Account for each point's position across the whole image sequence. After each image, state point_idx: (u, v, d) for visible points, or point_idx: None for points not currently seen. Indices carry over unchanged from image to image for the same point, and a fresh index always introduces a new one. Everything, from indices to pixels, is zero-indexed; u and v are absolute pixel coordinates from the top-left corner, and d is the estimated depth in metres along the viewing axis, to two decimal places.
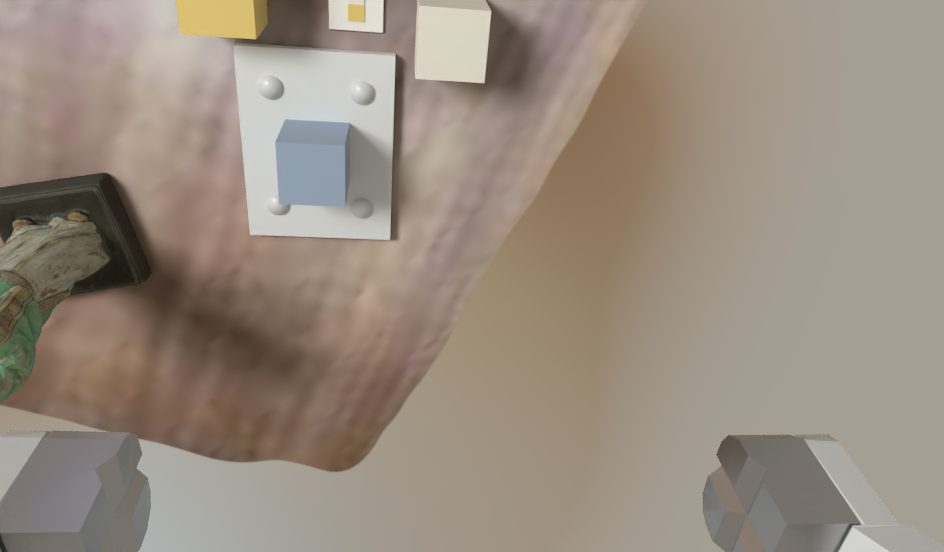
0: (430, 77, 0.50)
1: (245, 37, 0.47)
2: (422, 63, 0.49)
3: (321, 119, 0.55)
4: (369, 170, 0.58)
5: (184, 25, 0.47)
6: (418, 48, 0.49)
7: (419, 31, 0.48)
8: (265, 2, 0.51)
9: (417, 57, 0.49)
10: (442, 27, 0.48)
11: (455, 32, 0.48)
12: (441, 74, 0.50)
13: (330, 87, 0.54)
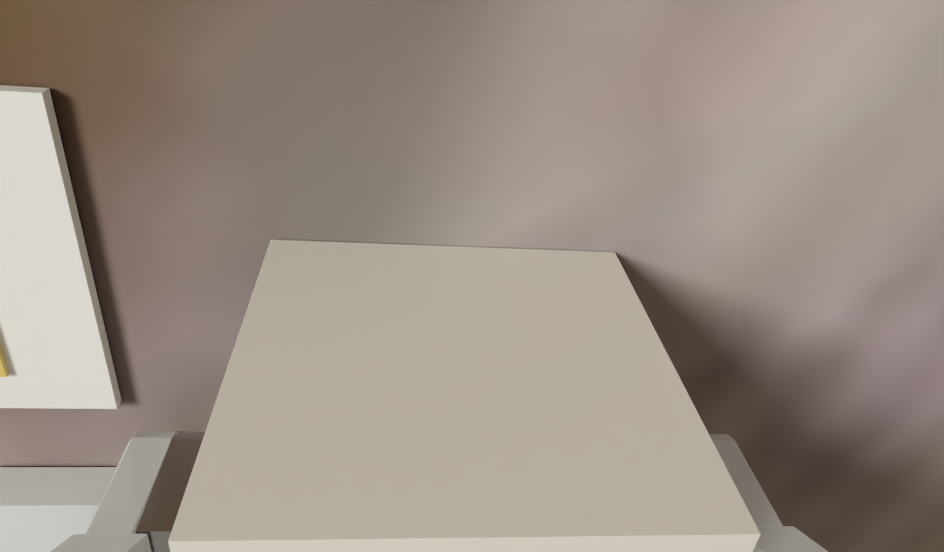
0: None
1: None
2: None
3: None
4: None
5: None
6: None
7: None
8: None
9: None
10: None
11: None
12: None
13: None
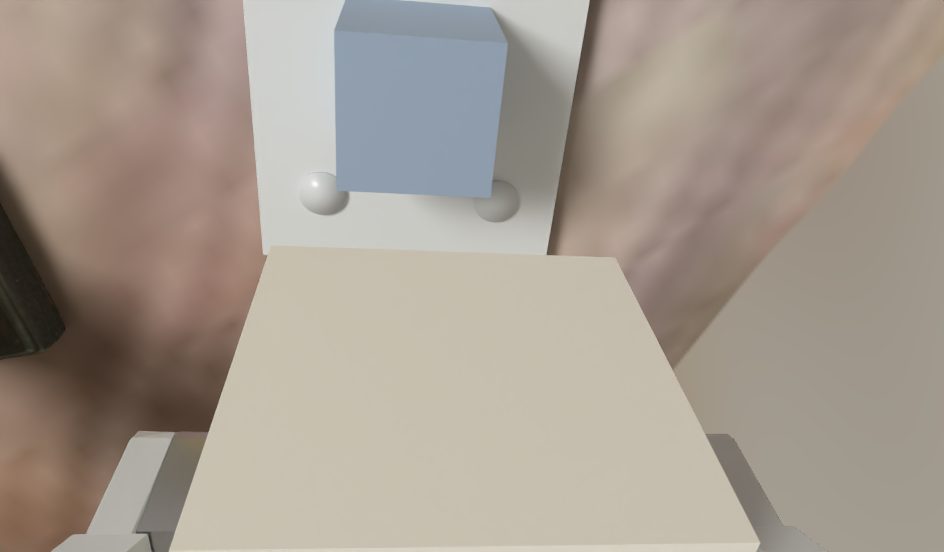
0: None
1: None
2: None
3: None
4: (522, 120, 0.27)
5: None
6: None
7: None
8: None
9: None
10: None
11: None
12: None
13: None
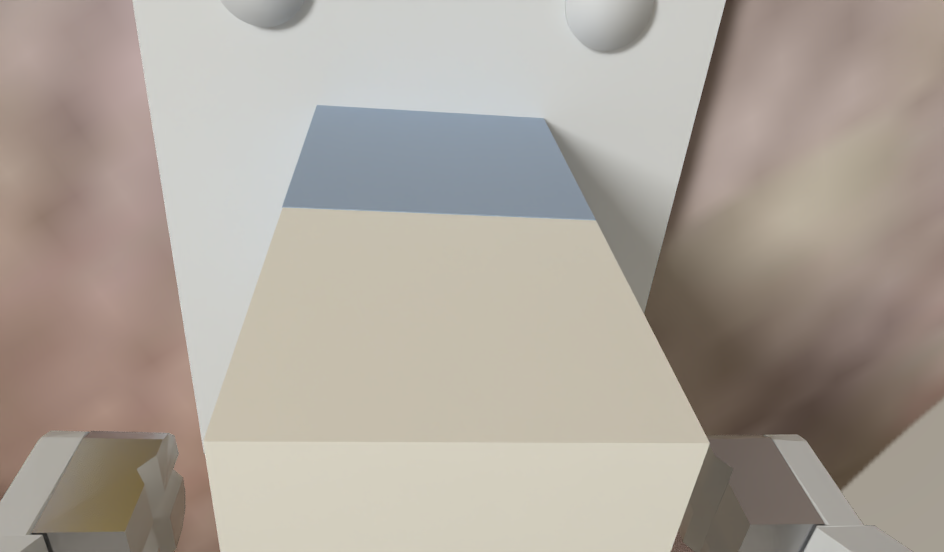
0: None
1: None
2: None
3: (447, 106, 0.15)
4: None
5: None
6: None
7: None
8: None
9: None
10: (384, 530, 0.07)
11: (465, 549, 0.08)
12: None
13: None
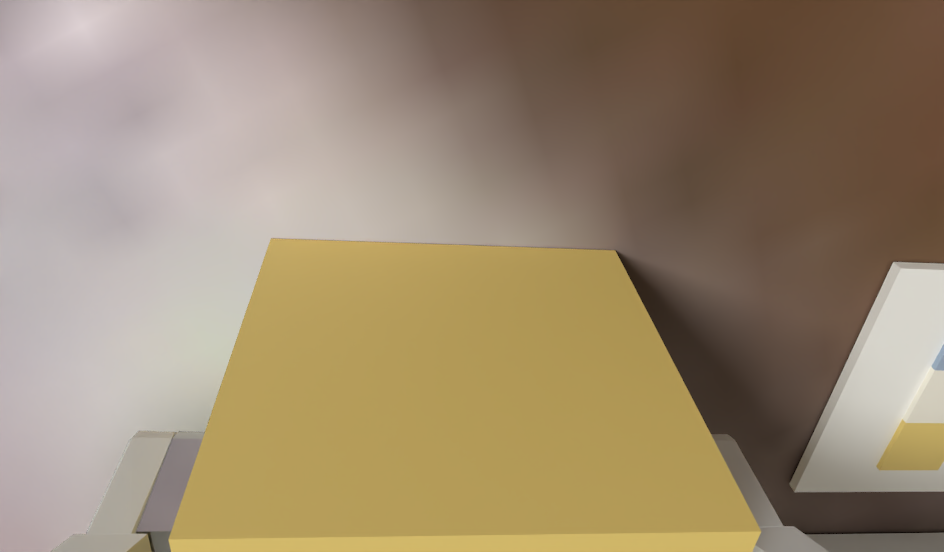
0: None
1: None
2: None
3: None
4: None
5: None
6: None
7: None
8: None
9: None
10: None
11: None
12: None
13: None
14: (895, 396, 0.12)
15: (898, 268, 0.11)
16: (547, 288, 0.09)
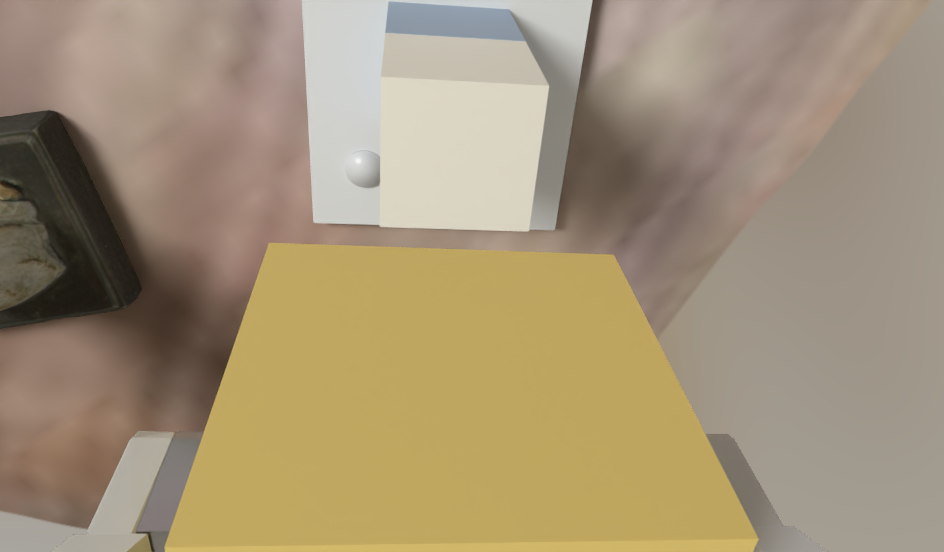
0: (412, 223, 0.23)
1: None
2: (394, 196, 0.22)
3: (457, 2, 0.29)
4: None
5: None
6: (383, 167, 0.22)
7: (384, 132, 0.21)
8: None
9: (382, 185, 0.22)
10: (437, 122, 0.21)
11: (466, 133, 0.21)
12: (436, 217, 0.23)
13: None
14: None
15: None
16: (545, 293, 0.09)
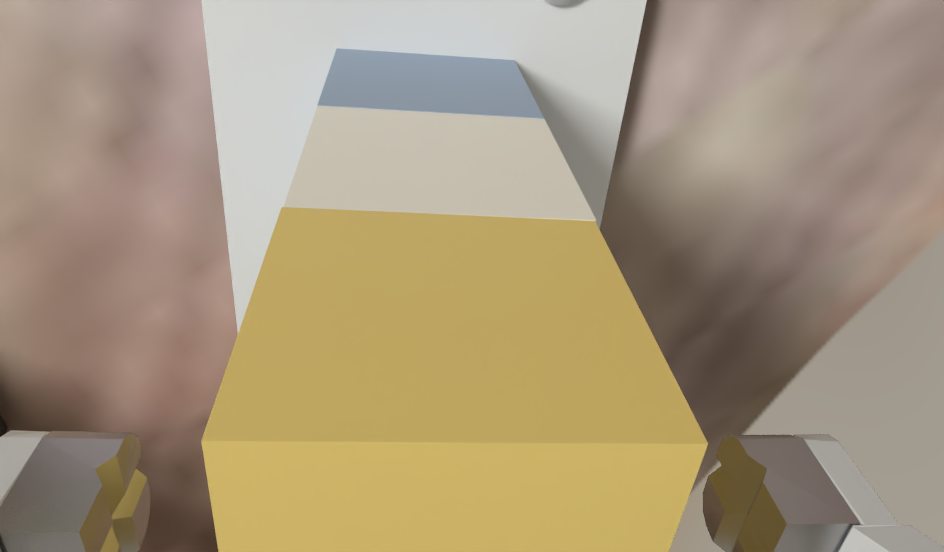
0: None
1: None
2: None
3: (438, 49, 0.19)
4: None
5: None
6: None
7: None
8: None
9: None
10: None
11: None
12: None
13: None
14: None
15: None
16: (531, 250, 0.10)
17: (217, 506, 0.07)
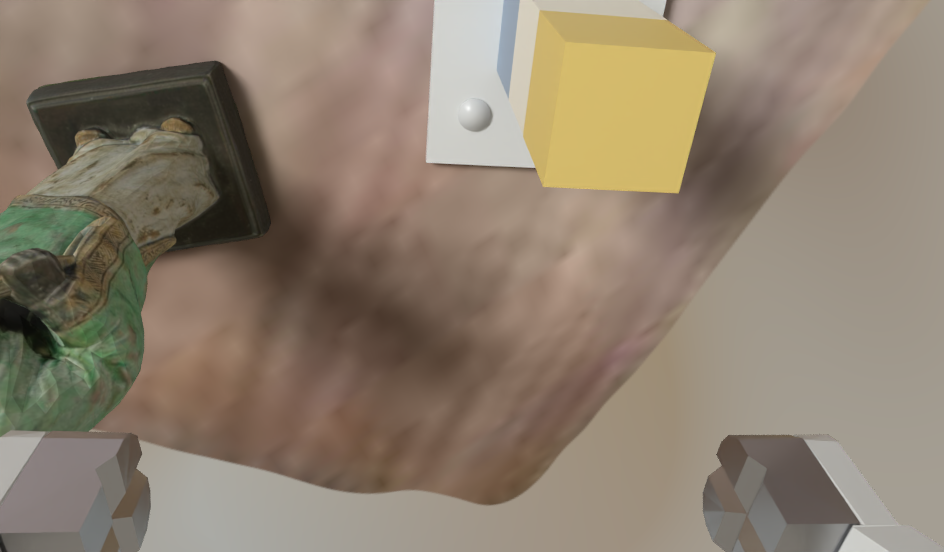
0: None
1: (660, 190, 0.25)
2: None
3: None
4: None
5: (556, 171, 0.24)
6: None
7: None
8: None
9: None
10: None
11: None
12: None
13: None
14: None
15: None
16: (644, 23, 0.26)
17: (562, 70, 0.22)
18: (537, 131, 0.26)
